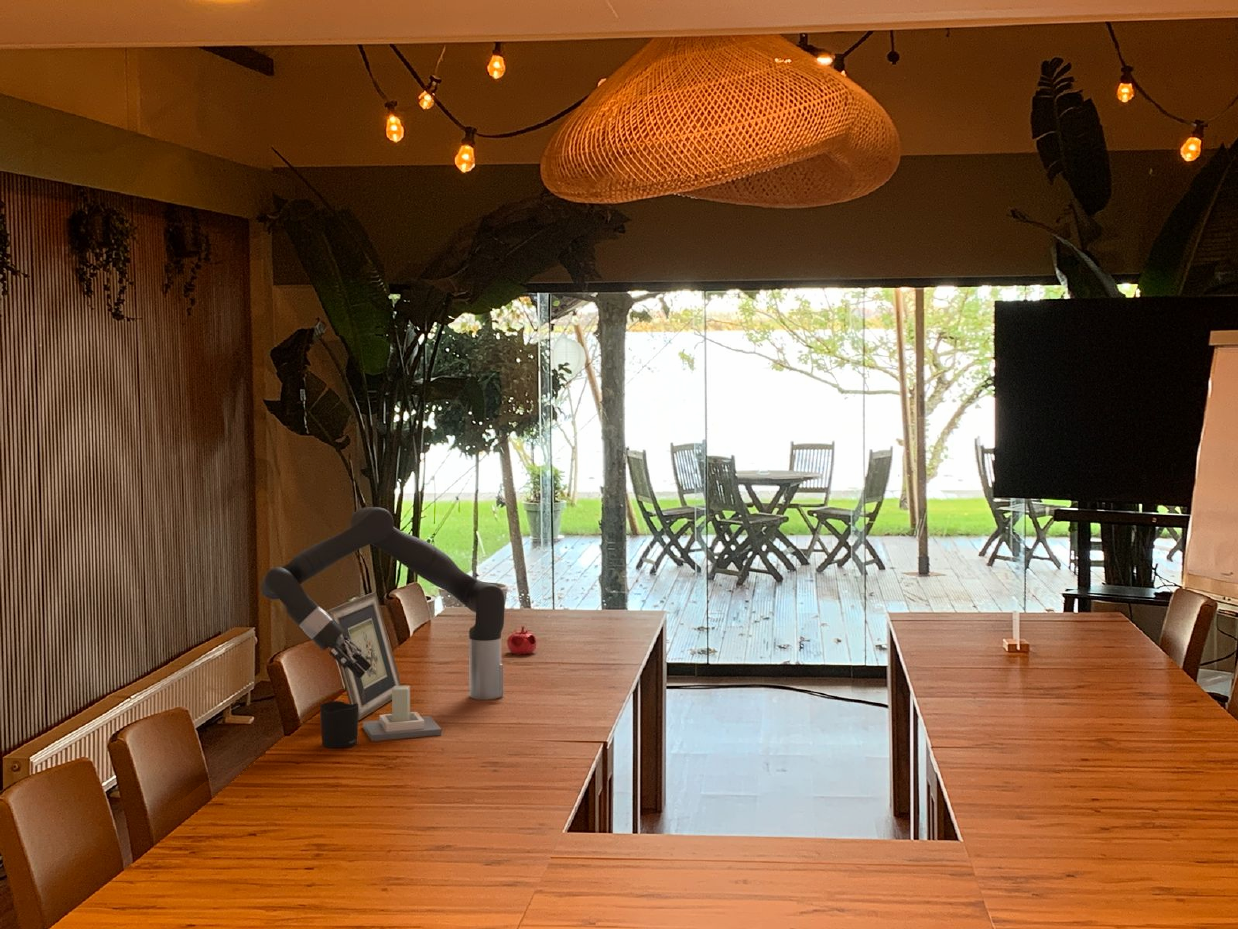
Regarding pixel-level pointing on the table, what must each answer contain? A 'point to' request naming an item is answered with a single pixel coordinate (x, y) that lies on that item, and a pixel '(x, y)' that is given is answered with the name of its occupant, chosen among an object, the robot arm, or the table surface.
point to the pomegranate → (521, 642)
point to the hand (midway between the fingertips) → (365, 672)
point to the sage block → (400, 703)
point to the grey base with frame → (401, 727)
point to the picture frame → (367, 653)
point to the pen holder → (339, 724)
